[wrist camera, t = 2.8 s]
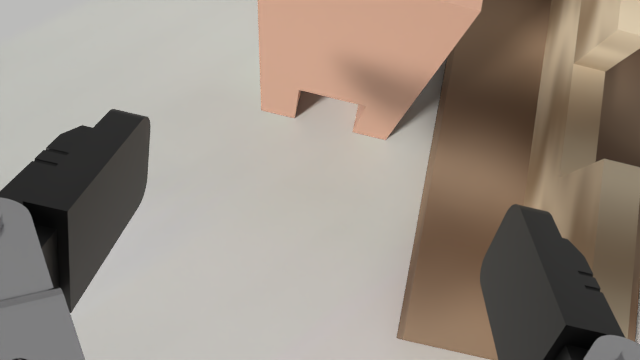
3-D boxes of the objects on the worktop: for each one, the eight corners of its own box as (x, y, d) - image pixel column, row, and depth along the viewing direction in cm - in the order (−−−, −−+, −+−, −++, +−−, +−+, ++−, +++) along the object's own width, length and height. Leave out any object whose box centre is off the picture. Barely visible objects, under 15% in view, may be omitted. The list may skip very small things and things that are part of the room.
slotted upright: (385, 139, 26) (480, 11, 14) (261, 110, 26) (256, -46, 14) (397, 82, 27) (497, -86, 15) (276, 52, 27) (283, -142, 15)
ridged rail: (613, 386, 25) (750, 421, 18) (396, 337, 24) (449, 353, 17) (649, -7, 29) (770, -103, 22) (467, -54, 29) (531, -167, 22)
